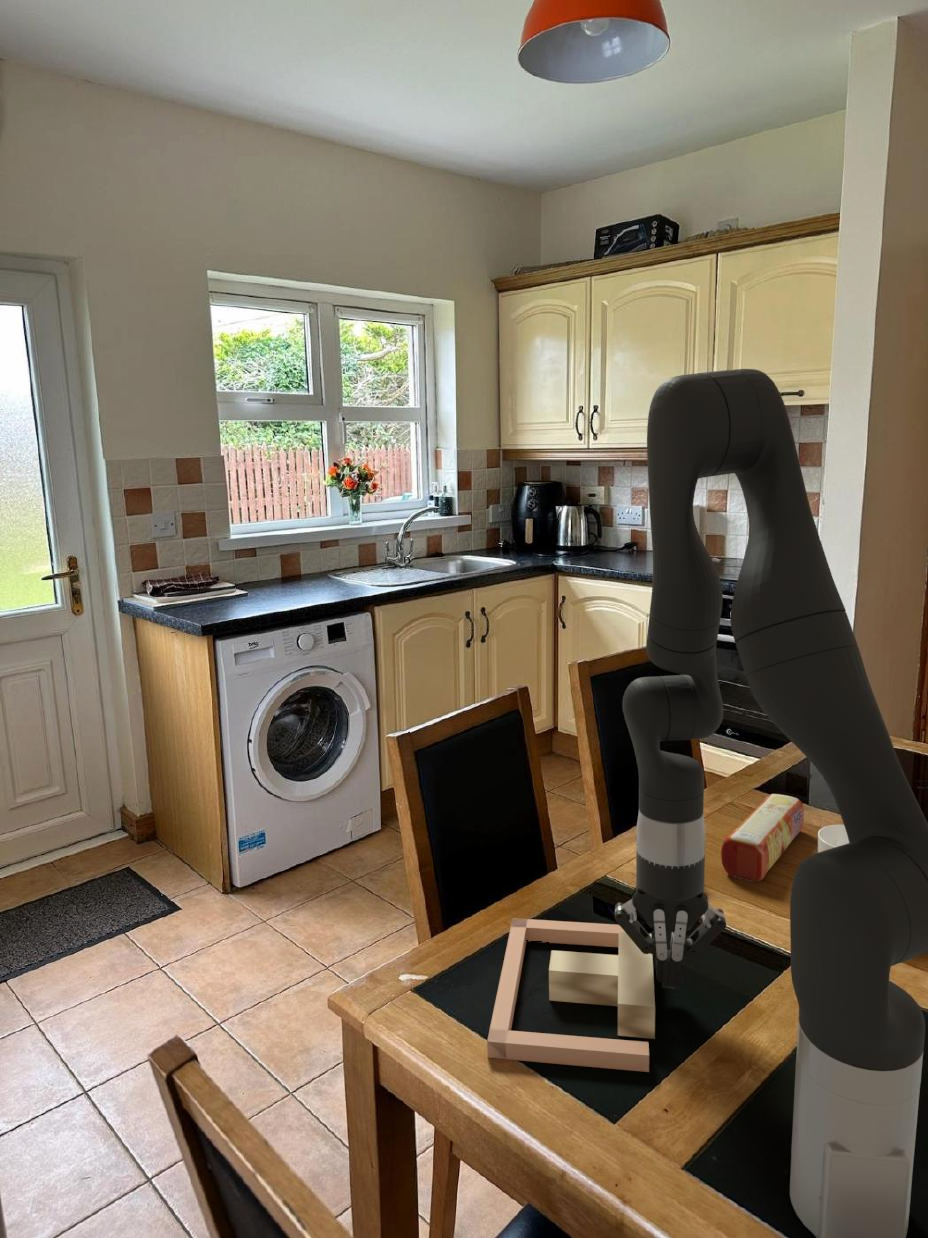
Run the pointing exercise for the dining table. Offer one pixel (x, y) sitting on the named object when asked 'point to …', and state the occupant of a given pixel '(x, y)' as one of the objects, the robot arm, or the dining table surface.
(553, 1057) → the frame
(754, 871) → the snack package
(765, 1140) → the dining table surface
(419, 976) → the dining table surface
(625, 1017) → the T block
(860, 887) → the robot arm
